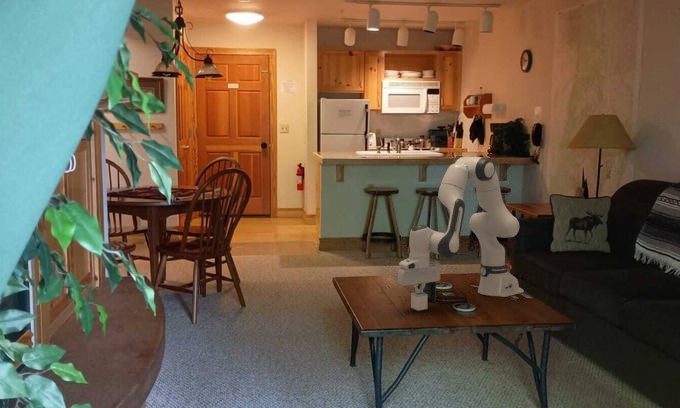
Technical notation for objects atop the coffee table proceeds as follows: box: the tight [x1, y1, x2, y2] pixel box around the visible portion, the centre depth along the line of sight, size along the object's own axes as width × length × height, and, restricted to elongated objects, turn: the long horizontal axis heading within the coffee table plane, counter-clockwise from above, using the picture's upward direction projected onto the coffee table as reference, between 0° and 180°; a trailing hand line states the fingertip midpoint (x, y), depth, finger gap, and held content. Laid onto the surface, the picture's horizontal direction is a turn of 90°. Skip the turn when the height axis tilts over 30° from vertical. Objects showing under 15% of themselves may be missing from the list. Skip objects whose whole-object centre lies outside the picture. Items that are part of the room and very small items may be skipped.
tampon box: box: [417, 281, 437, 303], centre depth 293 cm, size 11×9×15 cm
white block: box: [410, 292, 428, 311], centre depth 274 cm, size 5×5×7 cm
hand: (419, 293), depth 274 cm, fingers closed
